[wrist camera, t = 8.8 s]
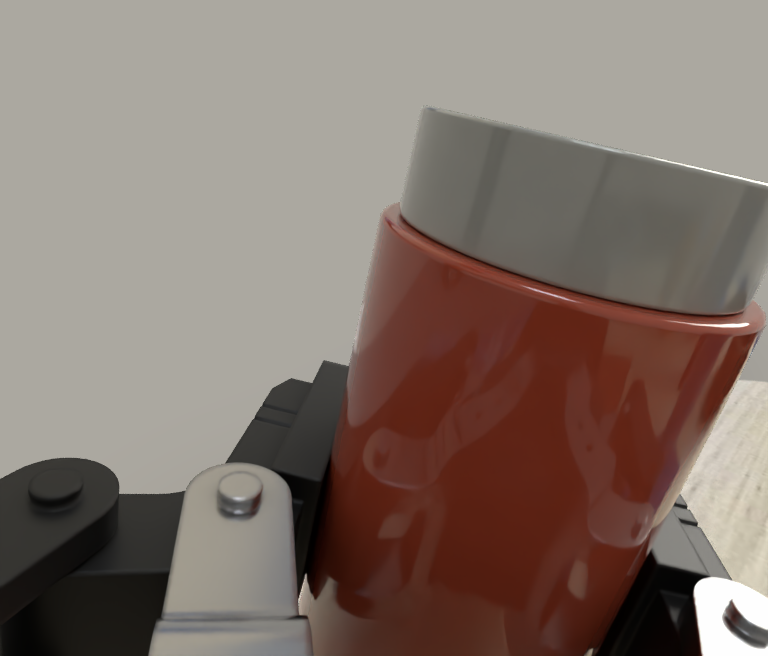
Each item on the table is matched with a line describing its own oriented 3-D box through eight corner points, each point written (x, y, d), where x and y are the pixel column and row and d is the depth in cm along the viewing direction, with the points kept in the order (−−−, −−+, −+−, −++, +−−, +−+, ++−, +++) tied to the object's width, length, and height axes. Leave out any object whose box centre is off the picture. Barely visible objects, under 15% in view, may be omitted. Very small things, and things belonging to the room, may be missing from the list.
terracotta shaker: (296, 1016, 8) (592, 142, 3) (240, 712, 12) (346, 86, 7) (534, 886, 10) (926, 219, 5) (423, 661, 14) (601, 145, 9)
